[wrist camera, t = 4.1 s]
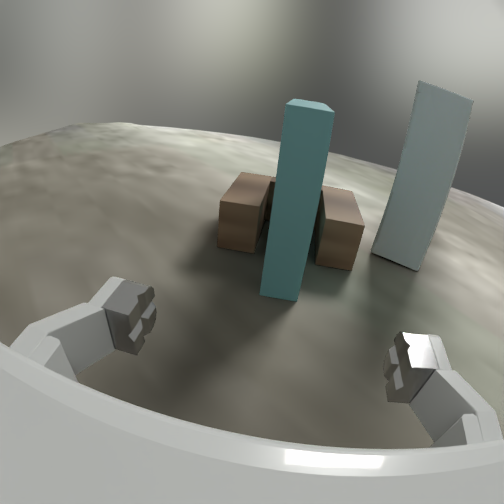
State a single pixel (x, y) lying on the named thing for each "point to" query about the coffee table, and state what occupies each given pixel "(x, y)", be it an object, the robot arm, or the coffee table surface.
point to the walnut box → (259, 209)
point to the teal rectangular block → (296, 196)
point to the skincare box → (423, 174)
